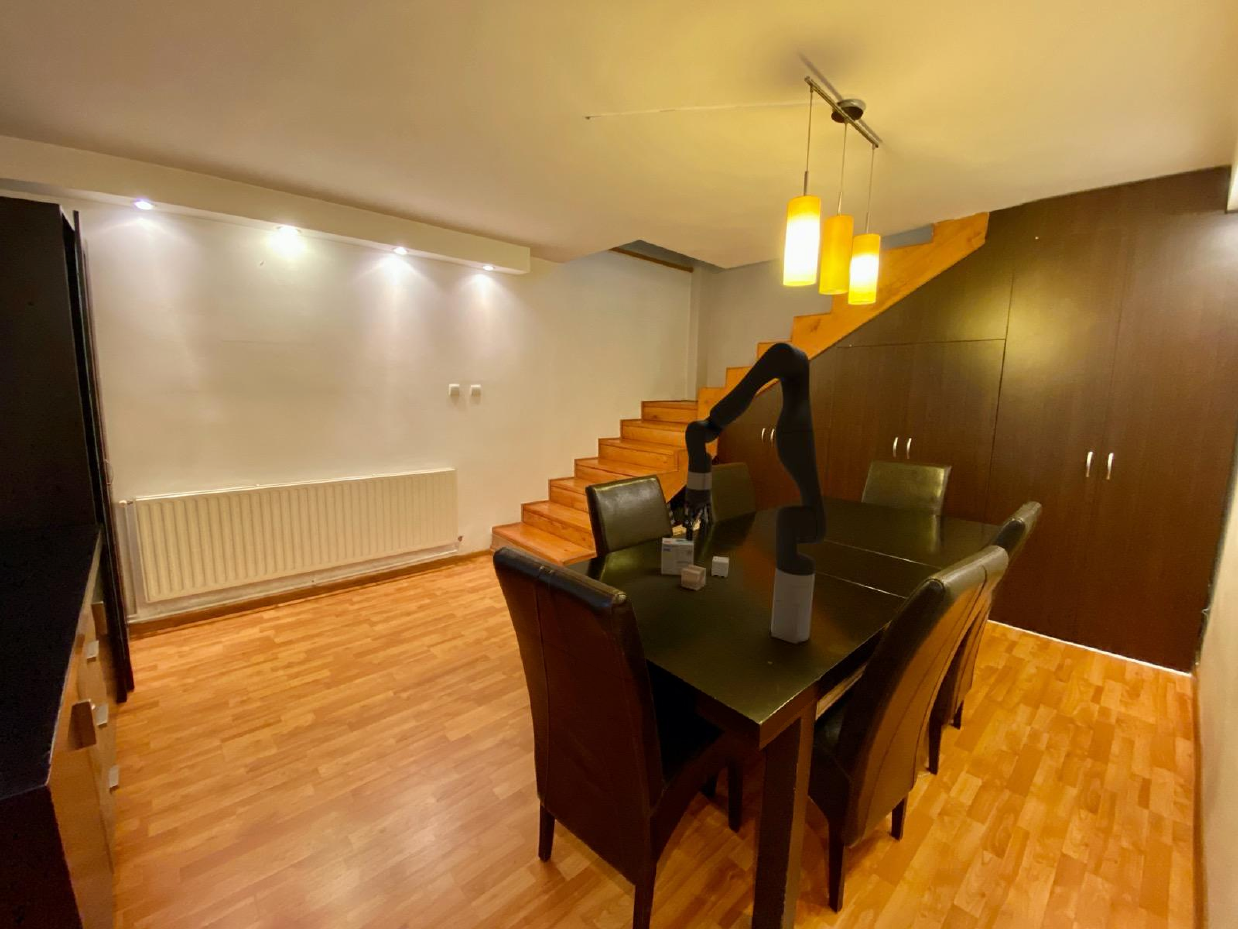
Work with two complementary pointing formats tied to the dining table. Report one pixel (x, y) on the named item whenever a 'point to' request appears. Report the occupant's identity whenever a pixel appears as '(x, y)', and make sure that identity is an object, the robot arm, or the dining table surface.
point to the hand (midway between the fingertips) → (696, 537)
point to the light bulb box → (676, 555)
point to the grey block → (720, 566)
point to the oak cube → (693, 577)
